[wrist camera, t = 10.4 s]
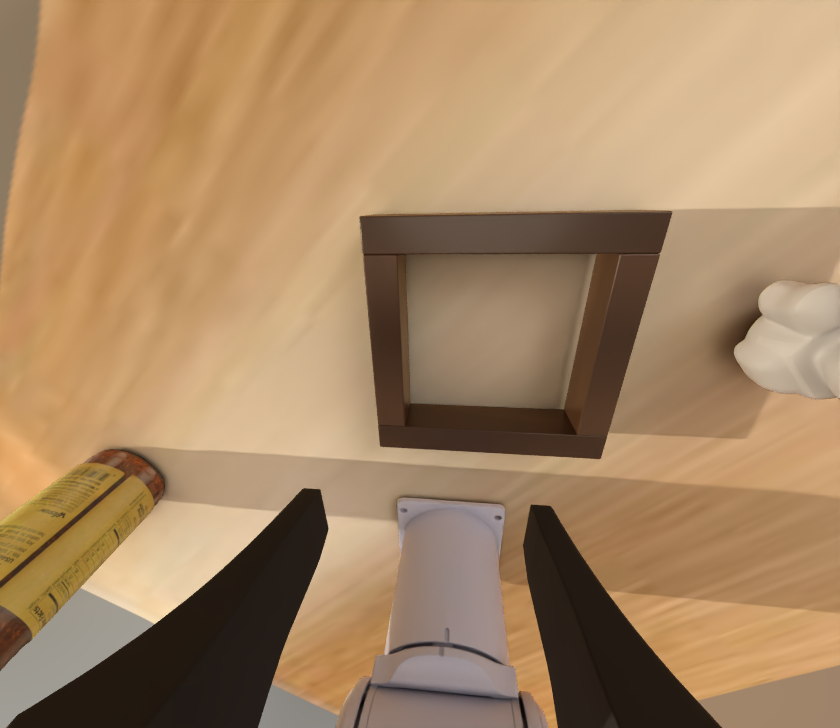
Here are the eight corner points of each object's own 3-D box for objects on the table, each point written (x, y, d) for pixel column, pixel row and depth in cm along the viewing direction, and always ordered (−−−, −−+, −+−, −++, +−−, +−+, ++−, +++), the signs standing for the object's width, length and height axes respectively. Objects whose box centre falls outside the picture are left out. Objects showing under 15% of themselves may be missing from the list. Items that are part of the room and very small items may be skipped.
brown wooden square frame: (585, 432, 21) (601, 459, 18) (387, 422, 22) (379, 447, 20) (641, 210, 15) (673, 211, 13) (372, 214, 16) (359, 216, 14)
